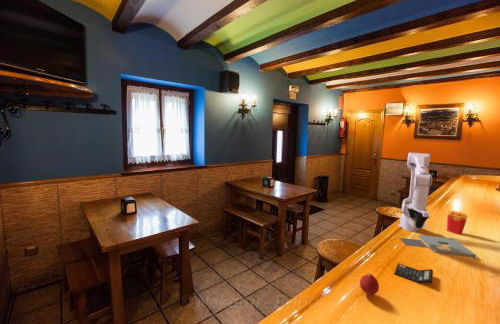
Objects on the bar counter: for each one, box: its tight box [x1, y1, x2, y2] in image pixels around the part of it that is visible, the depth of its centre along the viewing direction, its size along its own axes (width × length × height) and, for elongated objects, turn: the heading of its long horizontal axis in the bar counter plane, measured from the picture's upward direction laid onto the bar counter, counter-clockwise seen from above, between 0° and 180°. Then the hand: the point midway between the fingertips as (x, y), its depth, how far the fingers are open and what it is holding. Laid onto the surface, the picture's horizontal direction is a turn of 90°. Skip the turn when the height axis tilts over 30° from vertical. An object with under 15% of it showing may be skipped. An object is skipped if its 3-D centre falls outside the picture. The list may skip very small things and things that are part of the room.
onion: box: [359, 272, 380, 296], centre depth 82 cm, size 6×6×8 cm
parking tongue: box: [398, 237, 429, 249], centre depth 119 cm, size 8×10×1 cm
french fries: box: [446, 210, 469, 236], centre depth 134 cm, size 8×4×12 cm, turn 34°
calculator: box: [393, 263, 434, 284], centre depth 94 cm, size 9×12×3 cm
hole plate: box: [418, 234, 477, 260], centre depth 117 cm, size 16×16×2 cm
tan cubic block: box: [408, 217, 426, 232], centre depth 118 cm, size 5×5×5 cm
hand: (415, 225), depth 118 cm, fingers closed on tan cubic block, 5 cm apart
